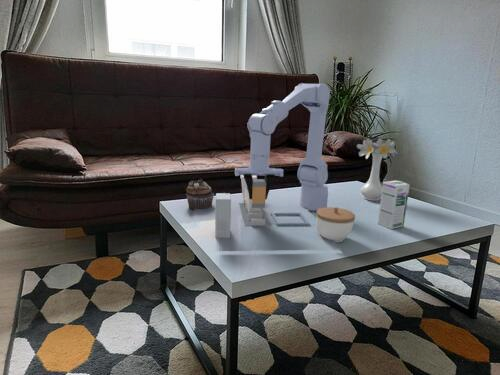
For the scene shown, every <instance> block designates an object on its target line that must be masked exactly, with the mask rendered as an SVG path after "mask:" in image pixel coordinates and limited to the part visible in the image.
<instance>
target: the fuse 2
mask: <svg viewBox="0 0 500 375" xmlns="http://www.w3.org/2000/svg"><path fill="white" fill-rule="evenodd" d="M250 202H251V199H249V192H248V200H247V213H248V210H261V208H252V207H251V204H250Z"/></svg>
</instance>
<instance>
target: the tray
mask: <svg viewBox="0 0 500 375" xmlns="http://www.w3.org/2000/svg"><path fill="white" fill-rule="evenodd" d="M277 216H299V218H301V220H302V222H280V221H279V220H278V218H277ZM271 217H272V219H273V222H274V223H275V225H276V226H277V227H283V226H285V227H286V226H287V227H291V226H292V227H296V226H297V227H302V226H303V227H304V226H305V227H306V226H307V227H308V226H309V227H310V222H309V221H308V220H307V218H306V217H305V215H304V214H303V213H302V212H271Z"/></svg>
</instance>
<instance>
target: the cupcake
mask: <svg viewBox="0 0 500 375" xmlns="http://www.w3.org/2000/svg"><path fill="white" fill-rule="evenodd" d="M185 191H186V193H185V196H186V200H187V204H188V208H189V209H190V210H192V211H195V209H197V210H198V209H200V210H203V209H209V208H211V207H212V206H213V200H214V197H215V194H214V193H213V192H212V187H211V186H209V184H208V183H206V181H204V180H203V179H202V178H199V179H197V180H192V179H191V180H189V182H188V186H187V188H186V189H185Z"/></svg>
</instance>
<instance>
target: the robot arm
mask: <svg viewBox="0 0 500 375" xmlns="http://www.w3.org/2000/svg"><path fill="white" fill-rule="evenodd" d="M330 93H331V91H330V88H329V87H328V85H327V84H326V83H322V82H321V83H303V82H301V83H299V84H298V85H296V86H295V87H294V90H293V91H292V92H290V94H288V95H287V96H286V97H285V98H284V99H283V100H282V101H281V100H273V101H271V104H270V105H269V106H266V108H262V110H261V111H260V112H259V113H253V114H251V116H250V117H249V119H248V122H247V123H246V125H247V129H248V132H249V138H250V154H249V156H250V157H249V164H250V168H249V167H240V168H239V167H235V168H234V175H235V177H239V176H241V175H243V176H244V179H245V181H246V184H247V188H248V192H249V199H252V183H253V179H252V176H257V177H258V176H259V177H260V176H261V177H263V176H264V180H265V181H266V197H265V200H267V199H268V195H269V192H270V190H271V187H272V186H273V184H274V183H275V181H276V176H278V177H284V169H282V168H274V167H269V166H270V152H271V151H270V150H271V137H272V136H271V134H273V133H274V132H275V130H276V127H277V126H278V124H280V122H282V121H283V120H285V119H286V118H287V117H288V116H289V111H290V110H291V109H293V108H295V107H296V106H298V105H299V104H301V105H302V106H304V107H305V108H306V109H307V110H308V111H309V112H310V117H309V125H308V126H309V127H308V136H307V145H306V146H307V147H306V155H305V156H306V157H304V158H303V159H302V160H300V161H299V166H298V170H297V172H296V173H297V174H296V175H297V179H298V180H299V183H300V185H301V188H300V199H299V206H300V207H301V208H303V209H307V210H308V211H316V212H317V210H318V209H320V208H325V207H327V206H328V197H329V188H328V186H327V184H326V182H327V181H328V178H329V172H328V164H327V163H326V161H325V160H324V159H323V158H322V153H323V145H324V135H325V128H326V127H325V126H326V121H327V120H326V117H327V110H328V109H329V104H330V103H329V102H330V96H331V95H330Z"/></svg>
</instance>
